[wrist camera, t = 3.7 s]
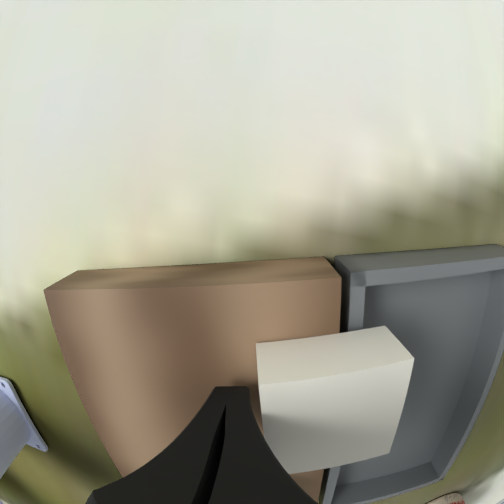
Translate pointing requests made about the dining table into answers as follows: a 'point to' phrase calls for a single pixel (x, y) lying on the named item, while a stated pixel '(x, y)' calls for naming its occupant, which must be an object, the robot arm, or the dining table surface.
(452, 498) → the teacup with lid
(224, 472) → the robot arm
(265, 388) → the cream tile
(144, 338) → the walnut plate
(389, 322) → the box
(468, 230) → the dining table surface
